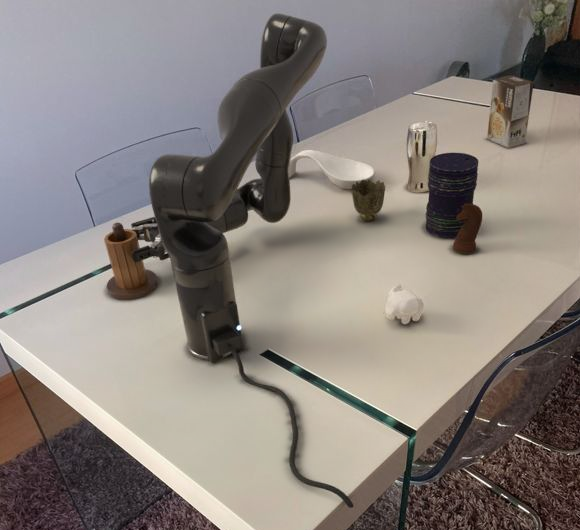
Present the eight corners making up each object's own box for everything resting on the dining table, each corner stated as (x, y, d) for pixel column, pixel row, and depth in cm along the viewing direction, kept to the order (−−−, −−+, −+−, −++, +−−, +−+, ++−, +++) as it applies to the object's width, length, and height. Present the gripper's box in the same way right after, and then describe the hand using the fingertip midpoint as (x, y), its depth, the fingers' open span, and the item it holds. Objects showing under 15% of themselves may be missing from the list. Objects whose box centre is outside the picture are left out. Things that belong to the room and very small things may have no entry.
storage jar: (437, 242, 134) (442, 174, 125) (417, 223, 141) (420, 157, 132) (480, 233, 135) (488, 165, 126) (458, 214, 143) (464, 149, 134)
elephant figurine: (375, 315, 114) (376, 287, 111) (415, 304, 116) (416, 276, 113) (393, 335, 109) (394, 306, 106) (434, 323, 111) (437, 294, 107)
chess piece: (453, 243, 133) (457, 198, 127) (478, 244, 132) (484, 199, 126) (451, 254, 130) (456, 208, 124) (477, 255, 128) (483, 209, 122)
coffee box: (526, 143, 174) (535, 81, 164) (507, 148, 172) (516, 86, 162) (503, 134, 181) (511, 74, 171) (485, 138, 179) (492, 78, 169)
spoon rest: (381, 178, 162) (381, 151, 158) (363, 197, 154) (363, 168, 150) (298, 168, 172) (296, 141, 167) (277, 185, 164) (275, 158, 159)
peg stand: (166, 288, 127) (151, 224, 119) (118, 305, 123) (100, 240, 115) (146, 268, 134) (131, 206, 126) (100, 284, 130) (82, 222, 122)
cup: (346, 223, 144) (345, 190, 139) (359, 209, 149) (359, 177, 144) (377, 228, 141) (378, 194, 136) (389, 214, 146) (390, 181, 141)
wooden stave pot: (151, 282, 127) (140, 236, 121) (123, 292, 125) (110, 246, 119) (140, 270, 131) (129, 226, 125) (112, 280, 129) (99, 235, 123)
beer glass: (433, 193, 153) (437, 131, 144) (404, 193, 154) (406, 131, 145) (434, 181, 158) (438, 120, 149) (405, 181, 160) (408, 121, 150)
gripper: (180, 195, 133) (106, 219, 126) (212, 218, 123) (133, 245, 116) (186, 228, 137) (115, 252, 131) (217, 252, 127) (142, 280, 121)
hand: (123, 249), depth 124 cm, fingers open, 8 cm apart
